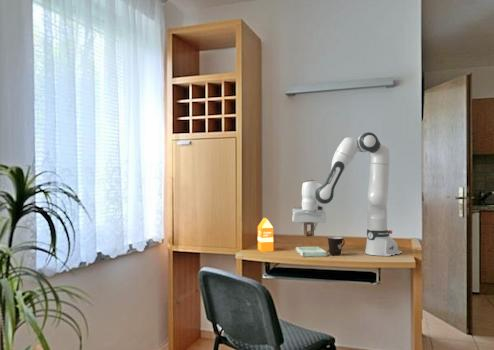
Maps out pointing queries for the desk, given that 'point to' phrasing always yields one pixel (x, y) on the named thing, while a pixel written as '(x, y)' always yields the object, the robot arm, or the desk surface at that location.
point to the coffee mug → (335, 245)
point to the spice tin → (311, 230)
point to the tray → (311, 251)
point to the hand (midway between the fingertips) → (308, 230)
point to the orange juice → (265, 236)
